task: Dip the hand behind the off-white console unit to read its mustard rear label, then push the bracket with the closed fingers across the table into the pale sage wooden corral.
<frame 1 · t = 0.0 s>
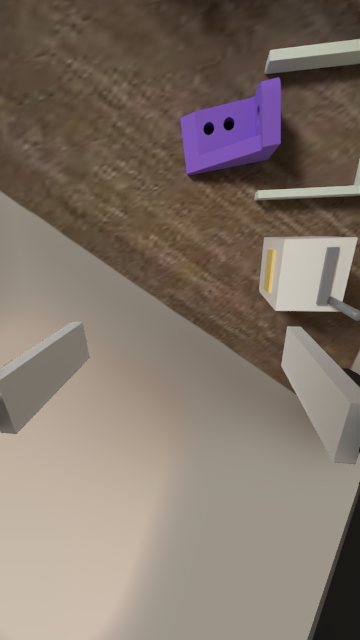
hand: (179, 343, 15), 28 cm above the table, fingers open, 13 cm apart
corral: (311, 134, 32), on the table
bracket: (224, 142, 34), on the table
unit: (285, 265, 38), on the table
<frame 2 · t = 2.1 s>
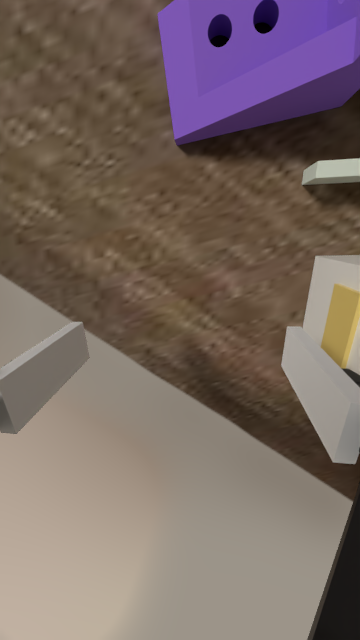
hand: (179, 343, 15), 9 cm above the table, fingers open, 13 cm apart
bracket: (250, 73, 17), on the table
unit: (352, 305, 21), on the table
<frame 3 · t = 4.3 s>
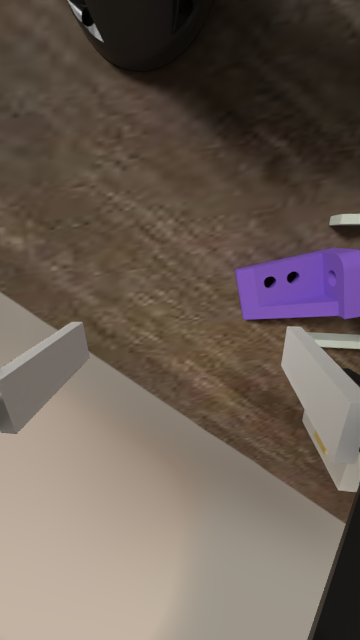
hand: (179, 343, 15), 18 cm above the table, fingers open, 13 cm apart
bracket: (283, 284, 31), on the table
unit: (334, 399, 35), on the table
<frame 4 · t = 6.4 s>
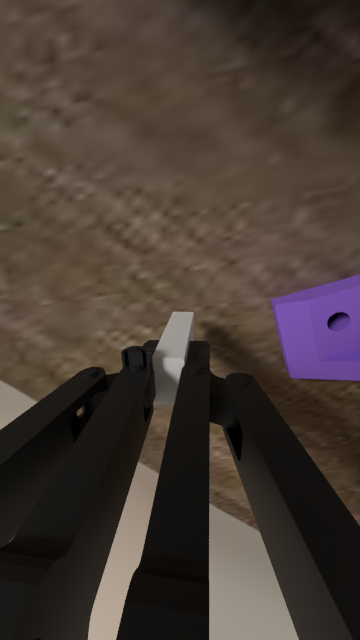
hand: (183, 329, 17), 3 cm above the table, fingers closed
bracket: (353, 315, 18), on the table
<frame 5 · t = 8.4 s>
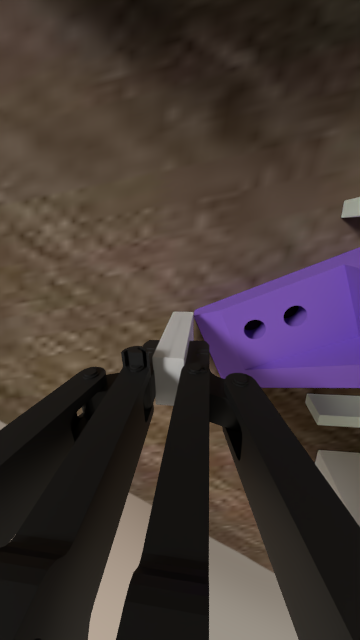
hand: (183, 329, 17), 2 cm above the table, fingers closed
bracket: (281, 320, 18), on the table, touching gripper
unit: (352, 485, 23), on the table
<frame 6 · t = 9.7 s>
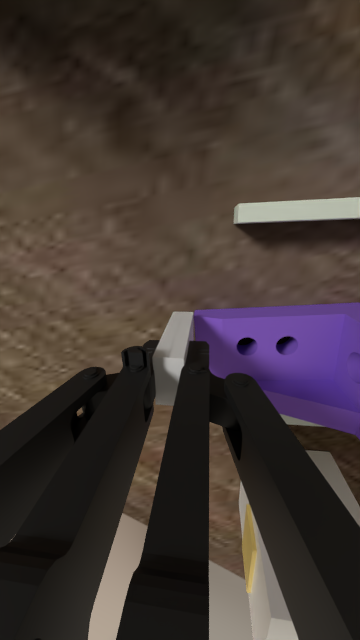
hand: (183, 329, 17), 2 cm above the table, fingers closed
corral: (323, 319, 17), on the table
bracket: (269, 344, 19), on the table, touching gripper
unit: (280, 479, 24), on the table
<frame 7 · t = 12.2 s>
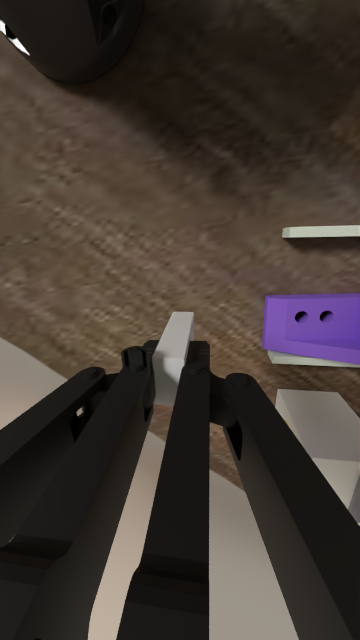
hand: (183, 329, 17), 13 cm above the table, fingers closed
corral: (334, 297, 28), on the table
bracket: (311, 319, 29), on the table
unit: (302, 416, 34), on the table
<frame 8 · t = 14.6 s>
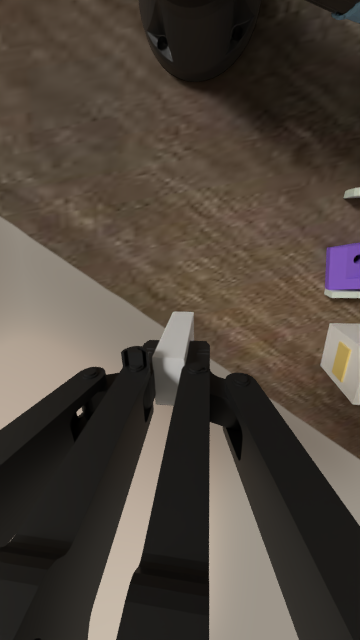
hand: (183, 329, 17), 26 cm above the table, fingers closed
unit: (347, 345, 43), on the table
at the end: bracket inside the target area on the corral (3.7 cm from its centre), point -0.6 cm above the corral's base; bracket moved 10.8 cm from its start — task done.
